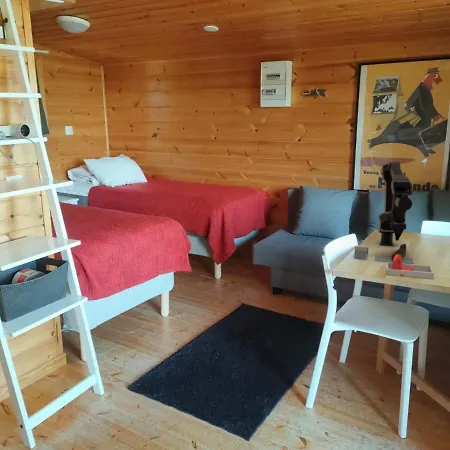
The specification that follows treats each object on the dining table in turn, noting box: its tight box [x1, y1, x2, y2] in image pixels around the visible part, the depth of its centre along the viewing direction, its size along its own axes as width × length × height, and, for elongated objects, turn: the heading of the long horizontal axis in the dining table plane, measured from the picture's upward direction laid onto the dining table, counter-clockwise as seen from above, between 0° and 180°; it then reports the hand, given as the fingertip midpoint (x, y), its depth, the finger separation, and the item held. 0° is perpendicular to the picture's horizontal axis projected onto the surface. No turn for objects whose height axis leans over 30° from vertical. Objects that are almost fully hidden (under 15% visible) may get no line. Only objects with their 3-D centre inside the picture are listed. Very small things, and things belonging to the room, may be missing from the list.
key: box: [354, 246, 369, 256], centre depth 203 cm, size 7×6×3 cm
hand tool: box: [391, 243, 407, 261], centre depth 200 cm, size 19×4×5 cm, turn 145°
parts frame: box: [385, 262, 434, 280], centre depth 179 cm, size 10×17×2 cm, turn 70°
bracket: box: [391, 254, 414, 277], centre depth 180 cm, size 12×4×8 cm, turn 137°
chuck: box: [354, 246, 368, 260], centre depth 201 cm, size 5×5×4 cm
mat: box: [374, 255, 415, 265], centre depth 197 cm, size 8×16×1 cm, turn 70°
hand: (396, 240), depth 201 cm, fingers closed
